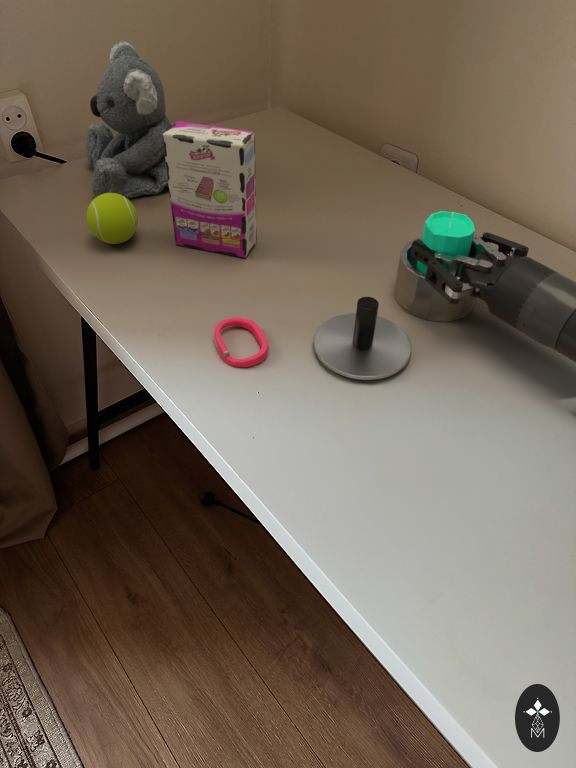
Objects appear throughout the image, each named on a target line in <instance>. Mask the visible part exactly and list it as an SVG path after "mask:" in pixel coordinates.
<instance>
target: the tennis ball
mask: <svg viewBox="0 0 576 768" xmlns="http://www.w3.org/2000/svg"><path fill="white" fill-rule="evenodd" d="M138 218H139V217H138V213H137V210H136V207H135V205H134V204H133V203H132V201H130V199H127V198H126V197H124V196H122V195H120V194H117V193H105V194H101V195H99V196H97V197H96V198H95V197H94V198H93V199H92V200H91V202H89V205H88V207H87V209H86V224H87V226H88V229H89V230H90V232H91V233H92V235H93V236H94V237H95V238H96V239H97V240H99V241H100V242H102V243H106V244H110V245H117V244H122V243H125V242H126V241H128V240H130V239H131V238H132V236H133V235H134V234H135V233H136V231H137V227H138V223H139V222H138V221H139V219H138Z"/></svg>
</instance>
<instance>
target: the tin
mask: <svg viewBox="0 0 576 768" xmlns="http://www.w3.org/2000/svg"><path fill="white" fill-rule="evenodd" d="M417 239H420V240H422V236H420V237H417V238H414V239H412V240H410V241H407V242H406V244H405V245H403V247H402V248H401V249H400V253H399V259H398V264H397V270H396V275H395V282H394V289H393V291H394V292H393V295H394V298H395V301H396V302H397V304H398V305H399V306H400V307H401V309H403V310H404V311H405V312H407V313H409V314H410V315H413V316H414V317H417V318H418V319H419V318H420V319H423V320H427V321H431V322H452V321H457V320H460V319H462V318H464V317H466V316H468V315H469V314H470V313H472V311H473V309H474V308H475V304H476V302H477V300H478V298H476V297H472V296H470V295H466V296H462V297H460V299H459V303H458V304H451V303H449V302H448V301H447V300H446V299H445V298H444V297H443V296H442V295H441V294H440V293H439V292H438V291H436V290H435V289H434V288H433V287H432V286H431V285H430V284H429V283H428V282H427V281H426V280H425V276H426V274H423V273H421V272H420V271H418V270H417V269H416V267H417V262H418V260H416V259H414V258H413V257H412V256H411V248H412V243H413V241H415V240H417Z"/></svg>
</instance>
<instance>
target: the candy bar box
mask: <svg viewBox="0 0 576 768" xmlns="http://www.w3.org/2000/svg"><path fill="white" fill-rule="evenodd" d="M255 134H256V133H255V131H250V130H244V129H236V128H232V127H231V128H230V127H224V126H223V127H222V126H216V125H210V124H203V123H202V124H201V123H195V122H187V121H181V120H177V121H176V122H175V123H173V125H172V126H171V127H170V128H169V129H168V130H167V131H166V132H165V133H163V143H164V151H165V160H166V167H167V176H168V184H169V186H168V191H169V199H170V208H171V209H170V210H171V217H172V218H171V219H172V225H173V226H172V227H173V235H174V242H175V245H177V246H180V247H186V248H190V249H196V250H201V251H205V252H212V253H216V254H217V253H218V254H222V255H229V256H234V257H238V258H247V257H248V256H249V254H250V253H251V251H252V249H253V248H254V247H255V246H256V244H257V242H258V227H257V191H256V190H257V186H256V185H257V184H256V183H257V182H256V181H257V180H256V177H257V176H256V137H255V136H256V135H255Z"/></svg>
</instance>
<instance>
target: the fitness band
mask: <svg viewBox="0 0 576 768" xmlns="http://www.w3.org/2000/svg"><path fill="white" fill-rule="evenodd" d="M230 327H239V328H243V329H246V330H248V331H250V332H251V333H252V334H253V335H254V337H255V339H256V341H257V343H258V344H259V346H260V350H259V351H258V352H257V353H255V354H253V355H251V356H249V357H244V358H237V357H236V358H235V357H234V356H232V355H230V351H229V349H228V347H227V345H226V344H225V342H224V340H223V338H222V335H221V333H222V331H223V330H224V329H226V328H230ZM212 338H213V339H212V340H213V344H214V345H215V347H216V349H217V352H218V353H219V355H220V357H221V358H222V360H223V361H225V362H226V363H227V364H229V365H231V366H234V367H237V368H247V367H253V366H256V365H259V364H261V363H262V362H263V361H264V360H265V359H266V358H267V356H268V355H269V342H268V338H267V337H266V335H265V333H264V332H263V330H262V328H261V327H260V326H259V324H257V323H256V322H255V321H254V320H252V319H250V318H246V317H242V316H241V317H239V316H233V317H227V318H225V319H223V320H221V321H219V322H218V323H217V324H216V325H215V328H214V331H213V337H212Z"/></svg>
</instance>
